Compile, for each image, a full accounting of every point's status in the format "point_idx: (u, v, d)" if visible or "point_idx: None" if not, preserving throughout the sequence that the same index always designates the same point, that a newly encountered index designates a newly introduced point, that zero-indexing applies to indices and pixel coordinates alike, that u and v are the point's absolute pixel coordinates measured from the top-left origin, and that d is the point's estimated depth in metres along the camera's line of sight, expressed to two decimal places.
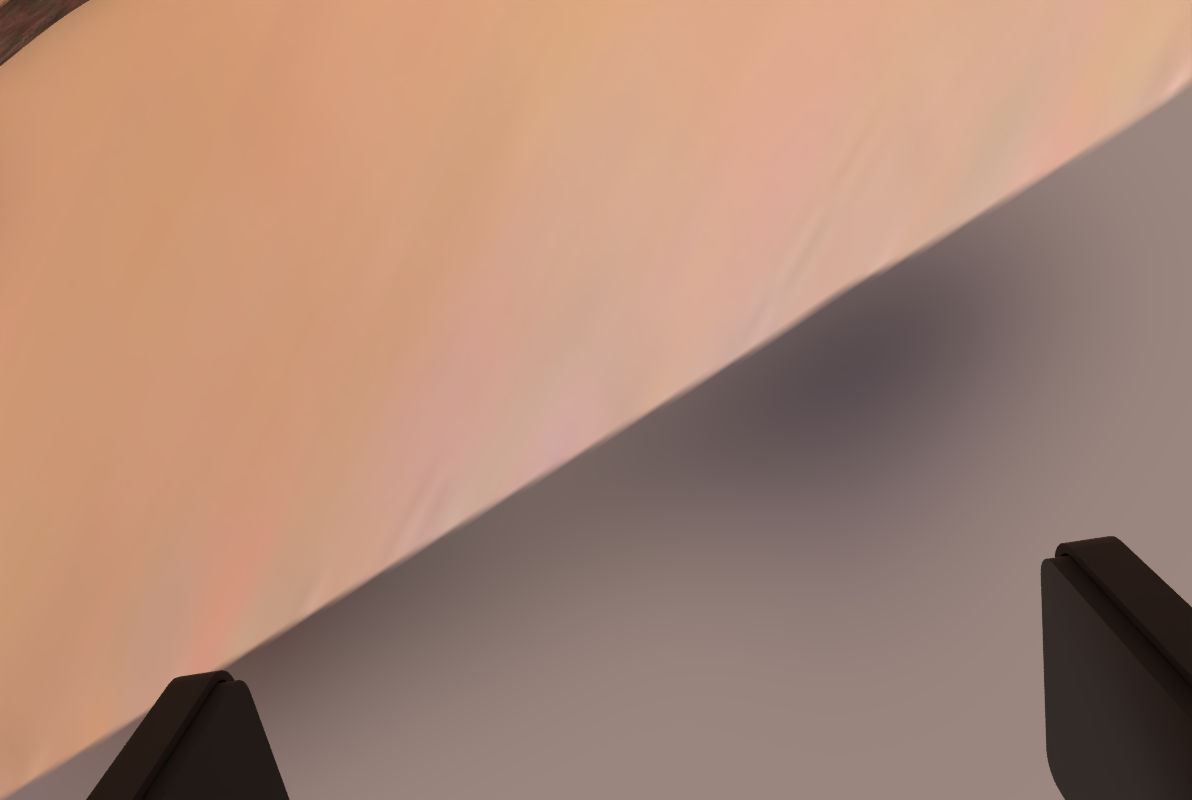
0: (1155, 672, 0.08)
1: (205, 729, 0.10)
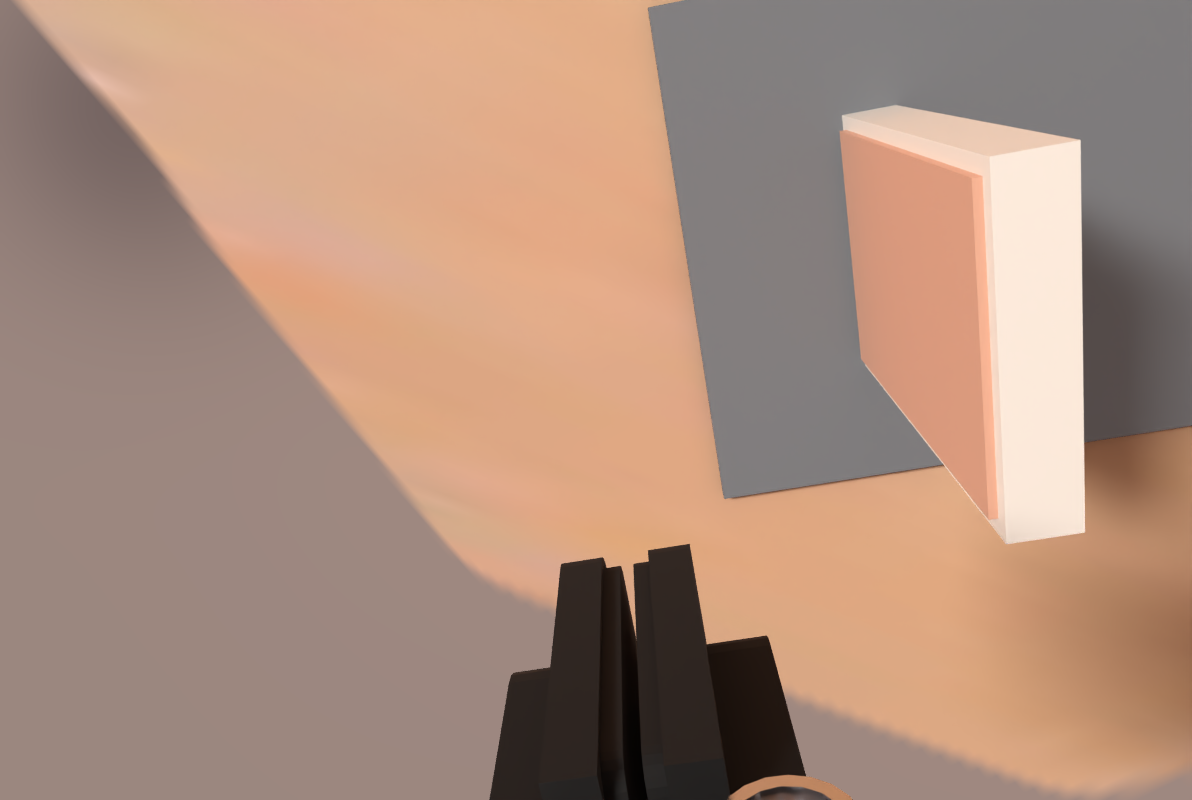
0: (642, 660, 0.10)
1: (617, 603, 0.11)
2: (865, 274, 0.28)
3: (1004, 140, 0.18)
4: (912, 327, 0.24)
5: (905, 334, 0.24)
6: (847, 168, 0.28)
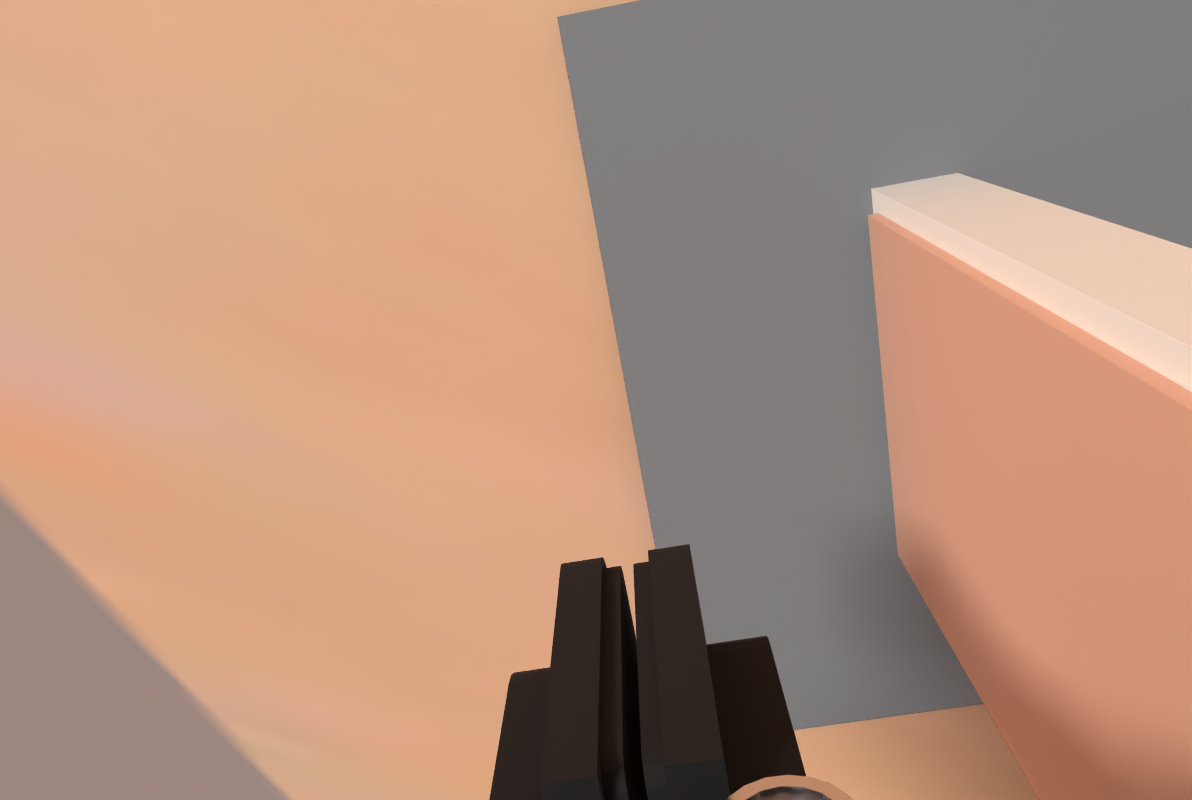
0: (642, 660, 0.10)
1: (617, 603, 0.11)
2: (911, 448, 0.17)
3: None
4: (1014, 600, 0.13)
5: (995, 597, 0.14)
6: (881, 276, 0.17)
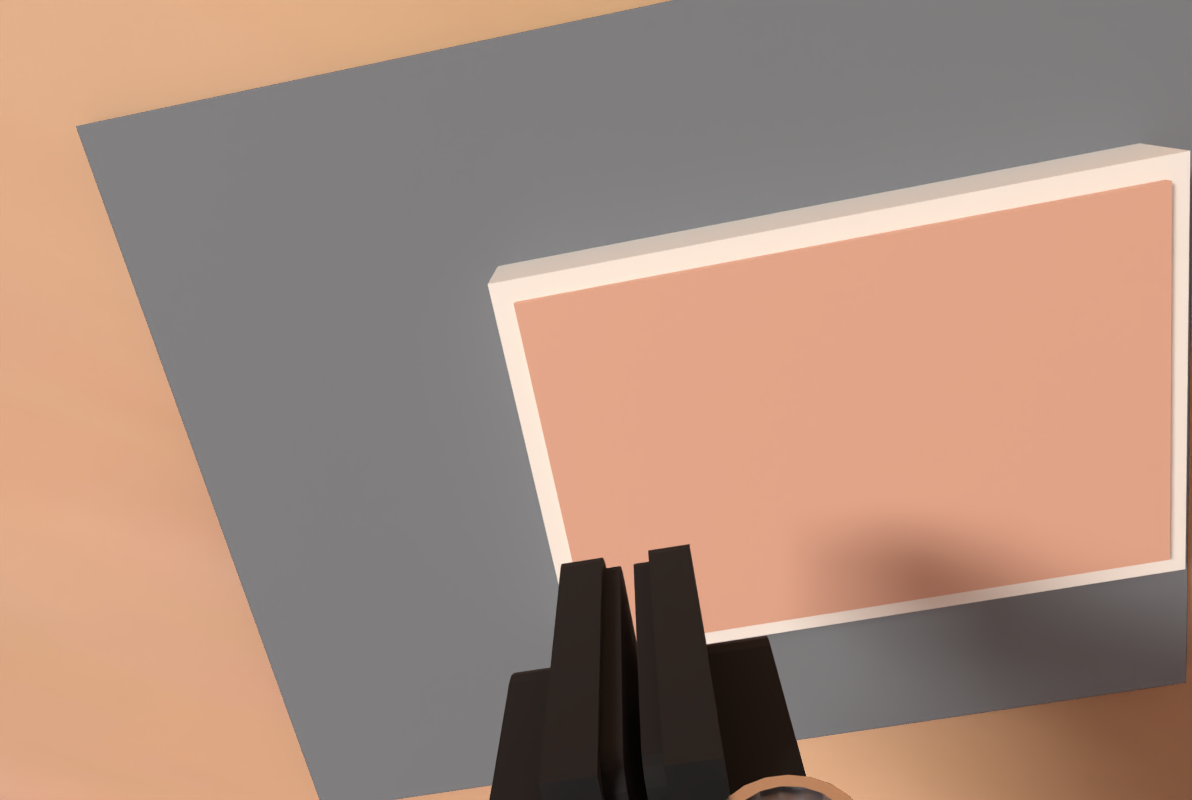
0: (642, 660, 0.10)
1: (617, 603, 0.11)
2: (650, 492, 0.18)
3: (1074, 163, 0.17)
4: (903, 464, 0.17)
5: (867, 489, 0.18)
6: (563, 352, 0.17)
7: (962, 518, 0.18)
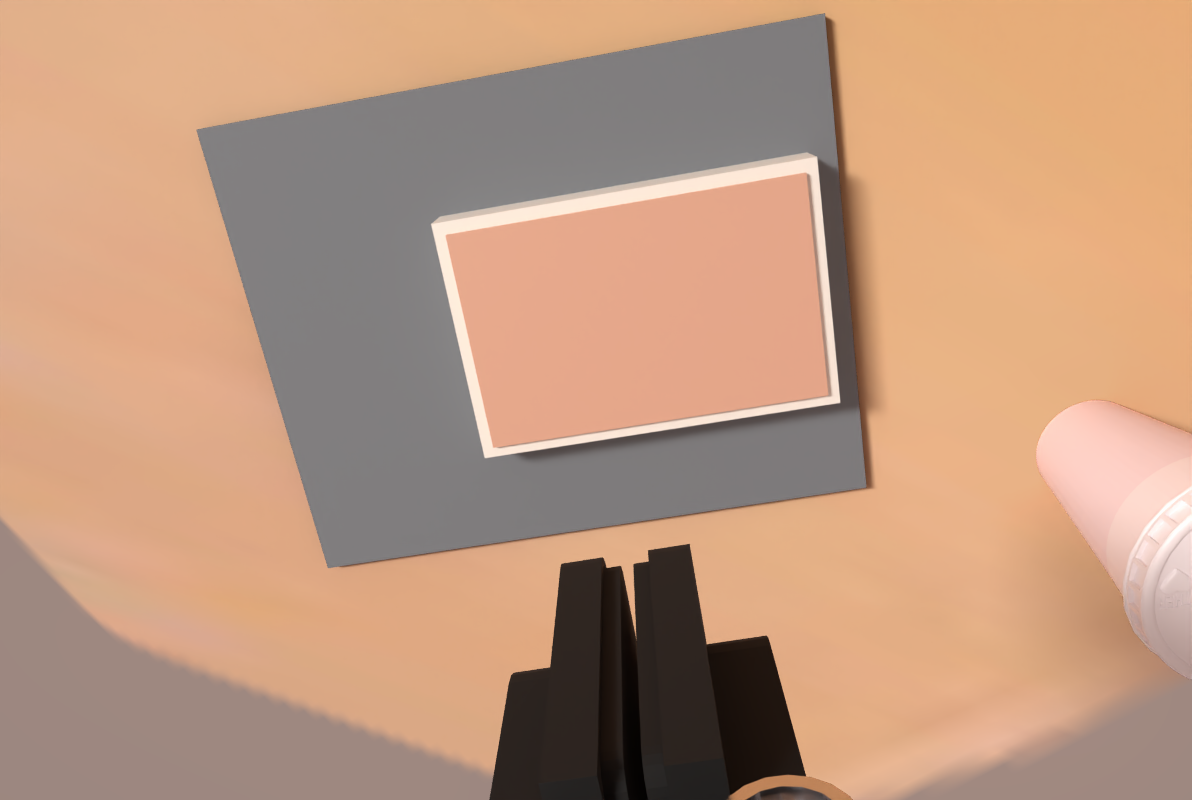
0: (642, 660, 0.10)
1: (617, 603, 0.11)
2: (525, 348, 0.31)
3: (763, 162, 0.30)
4: (670, 334, 0.30)
5: (650, 349, 0.30)
6: (473, 264, 0.30)
7: (706, 367, 0.31)
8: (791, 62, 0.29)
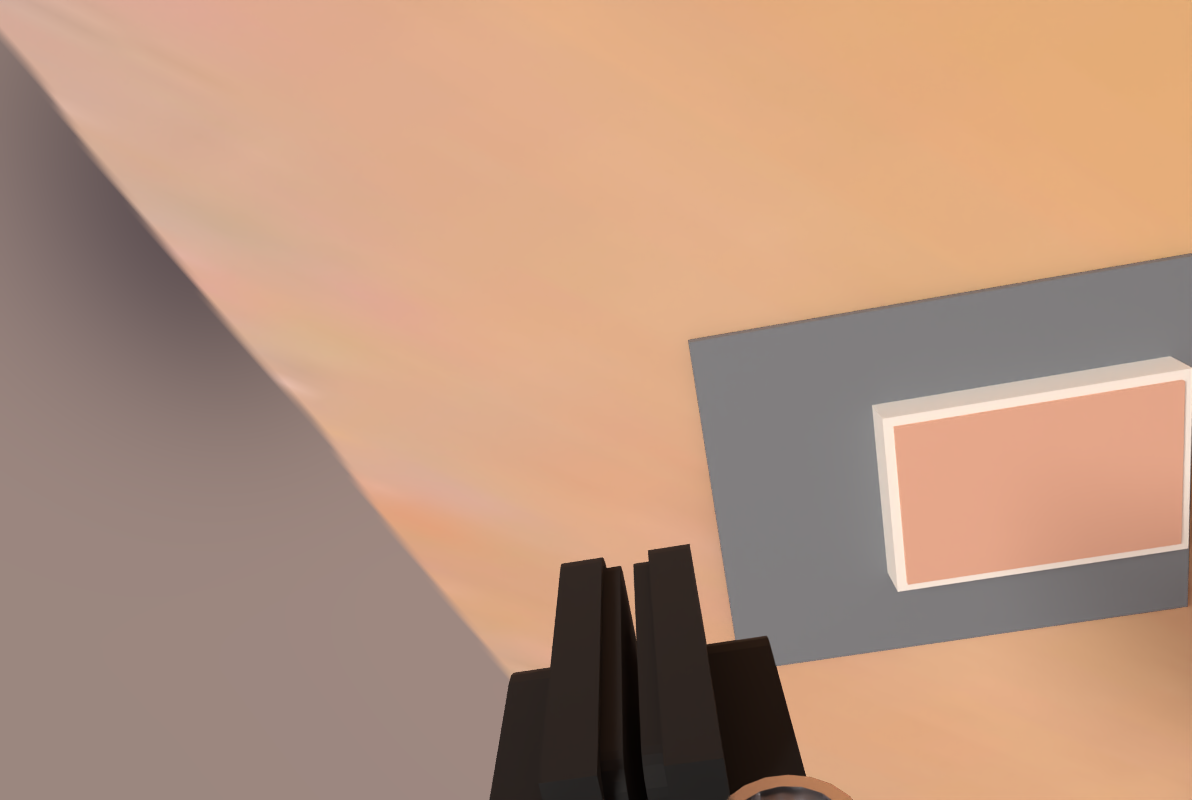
0: (642, 660, 0.10)
1: (617, 603, 0.11)
2: (945, 510, 0.39)
3: (1141, 368, 0.38)
4: (1061, 499, 0.39)
5: (1044, 510, 0.39)
6: (913, 448, 0.38)
7: (1086, 524, 0.39)
8: (1166, 290, 0.37)
